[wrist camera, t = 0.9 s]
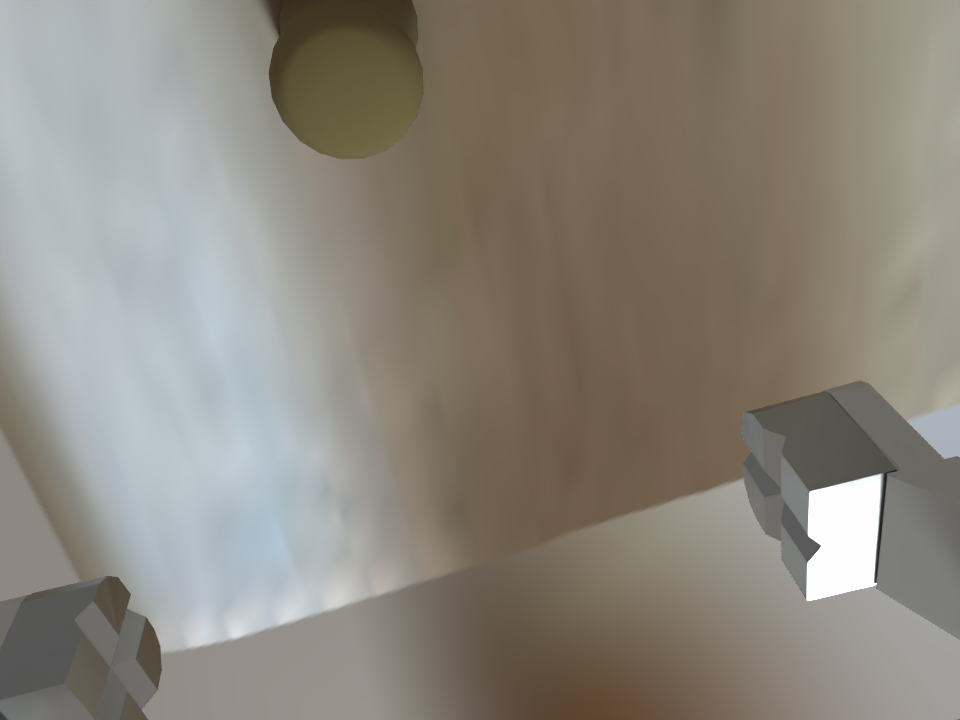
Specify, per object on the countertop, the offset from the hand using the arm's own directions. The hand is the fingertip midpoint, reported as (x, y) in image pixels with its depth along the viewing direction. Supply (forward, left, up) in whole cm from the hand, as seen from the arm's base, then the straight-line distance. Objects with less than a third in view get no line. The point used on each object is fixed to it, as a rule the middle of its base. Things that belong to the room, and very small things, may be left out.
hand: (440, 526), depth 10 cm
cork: (+1, -1, -31) cm, 31 cm away
